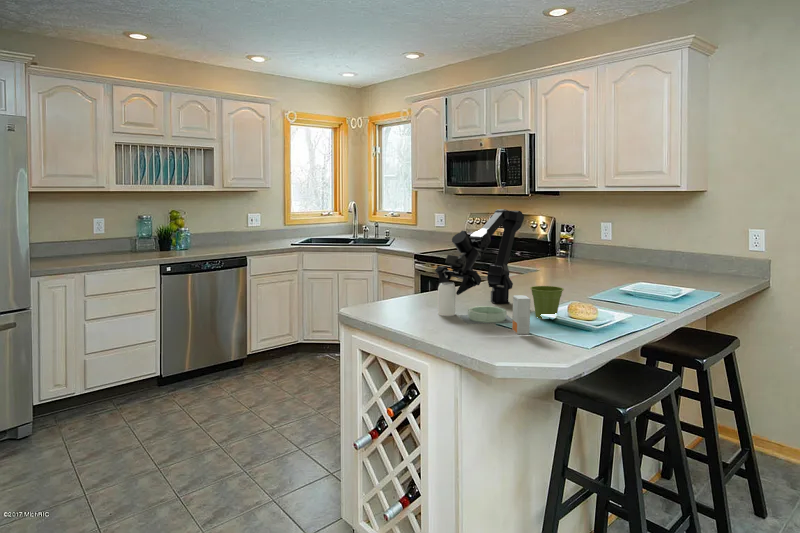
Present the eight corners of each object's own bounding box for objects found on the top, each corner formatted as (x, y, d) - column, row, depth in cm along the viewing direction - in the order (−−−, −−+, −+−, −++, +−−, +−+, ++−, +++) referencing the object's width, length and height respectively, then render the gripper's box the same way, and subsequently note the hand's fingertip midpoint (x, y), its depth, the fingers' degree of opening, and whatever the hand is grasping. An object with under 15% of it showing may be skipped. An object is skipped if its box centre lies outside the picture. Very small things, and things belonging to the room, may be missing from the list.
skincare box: (511, 330, 184) (512, 295, 183) (524, 330, 185) (525, 295, 183) (516, 335, 178) (518, 298, 177) (529, 335, 179) (531, 298, 177)
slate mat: (505, 314, 207) (505, 313, 207) (517, 323, 194) (517, 322, 194) (458, 316, 205) (458, 314, 205) (467, 325, 191) (467, 323, 191)
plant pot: (562, 316, 206) (564, 286, 204) (562, 323, 195) (563, 291, 193) (530, 313, 209) (531, 284, 208) (527, 320, 198) (528, 289, 197)
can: (454, 317, 203) (454, 285, 201) (436, 316, 204) (437, 284, 203) (456, 313, 209) (456, 282, 208) (438, 312, 210) (439, 281, 209)
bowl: (499, 314, 207) (499, 305, 206) (510, 322, 194) (510, 313, 193) (464, 315, 205) (464, 306, 205) (473, 323, 192) (473, 314, 192)
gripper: (438, 245, 214) (418, 276, 208) (477, 248, 201) (457, 282, 194) (451, 263, 220) (432, 294, 214) (489, 268, 207) (470, 301, 201)
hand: (447, 292), depth 206 cm, fingers open, 9 cm apart
